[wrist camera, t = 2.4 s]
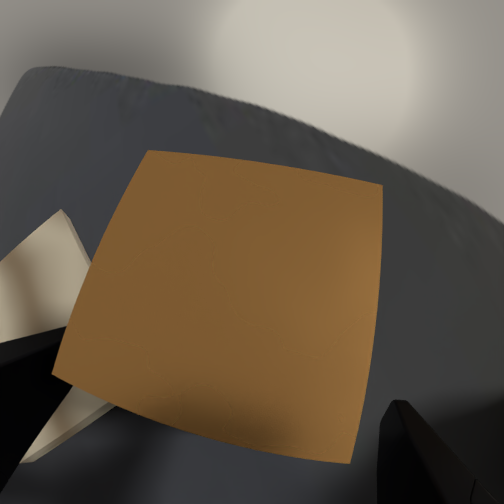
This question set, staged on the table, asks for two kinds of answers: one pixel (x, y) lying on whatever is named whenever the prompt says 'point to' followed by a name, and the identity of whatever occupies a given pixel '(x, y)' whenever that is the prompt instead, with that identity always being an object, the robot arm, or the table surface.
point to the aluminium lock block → (234, 304)
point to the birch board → (48, 314)
